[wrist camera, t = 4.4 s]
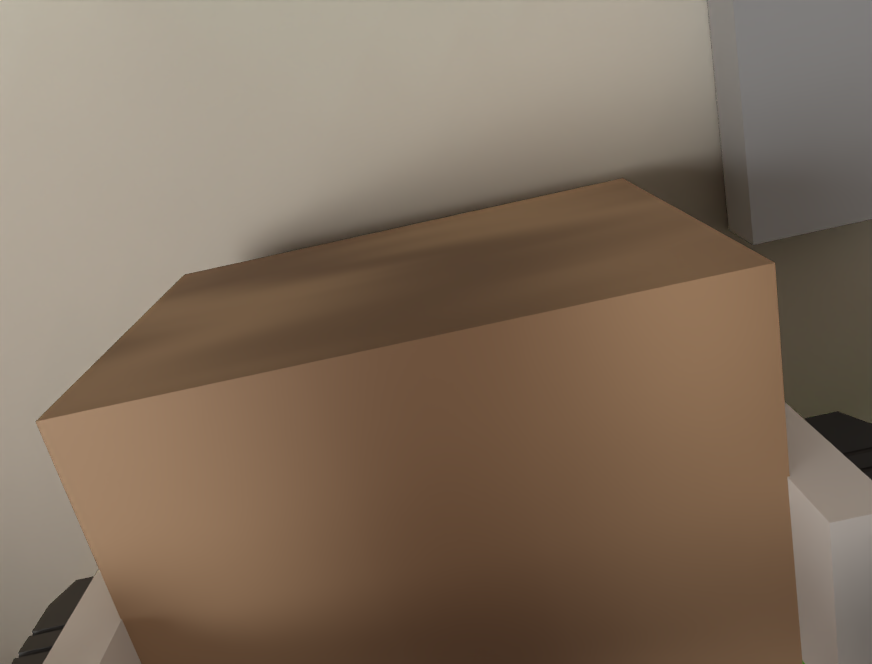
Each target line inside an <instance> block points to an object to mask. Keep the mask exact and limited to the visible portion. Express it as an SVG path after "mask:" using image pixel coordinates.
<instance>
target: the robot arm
mask: <svg viewBox="0 0 872 664" xmlns="http://www.w3.org/2000/svg"><path fill="white" fill-rule="evenodd" d="M785 415H786V429H787V444H788V458H789V473H790V476H788V477H787V479H788V491H789V503H790V515H791V528H792V540H793V552H794V564H795V577H796V589H797V601H798V613H799V626H800V638H801V650H802V660H803V662H804V663H805V664H872V424H870V423H867V422H865V421H862V420H859V419H857V418H854V417H851V416H849V415H846V414H843V413H840V412H833V413H828V414H824V415H819V416H815V417H810V418H805V419H803V418H802V417H801V416H800V415H799V414H798V413H797V412H796V411H794V410H793V409H792V408H791V407H790V406H789V405H788V404H787V403H786V402H785ZM32 633H33V636H29V637H28V639H27V640H26V642H25V643H24V645H23V647H22V648H21V650H20V651H19V653H18V654H19V658H15V659H14V661H13V662H12V664H141V661H140V659H139V657H138V655H137V652H136V650H135V648H134V646H133V643H132V641H131V639H130V637H129V634H128V632H127V630H126V628H125V625H124V623H123V621H122V619H120V616H119V614H118V612H117V609H116V607H115V605H114V602H113V600H112V598H111V595H110V593H109V591H108V588H107V586H106V584H105V581H104V579H103V577H102V575H101V572H100V570H99V569H98V571H97V572H96V574H95V576H94V577H89V578H85V579H80V580H76V581H75V582H74V583H73V584H72V585H71V586H69V587H68V588H67V589H66V590H65V591H64V592H63V593H62V594H61V595H60V596H59V597H58V598H56V599H55V600H54V601H53V602H52V603H51V604H50V605H49V606H48V608H47V609H46V611H45V612H44V614H43V615H42V617H41V618H40V620H39V622H38V623H37V625H36V626H35V628H34V629H33V631H32Z"/></svg>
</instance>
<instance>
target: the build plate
mask: <svg viewBox="0 0 872 664" xmlns="http://www.w3.org/2000/svg"><path fill="white" fill-rule="evenodd" d="M707 4H708V15H709V25H710V36H711V46H712V57H713V67H714V78H715V88H716V99H717V110H718V120H719V131H720V141H721V152H722V162H723V173H724V183H725V194H726V204H727V215H728V225H729V230H730V231H731V232H733V233H735V234H736V235H738V236H739V237H741V238H743V239H744V240H746V241H748V242H749V243H751V244H753V245H756V244H760V243H765V242H770V241H774V240H779V239H783V238H788V237H793V236H797V235H802V234H806V233H811V232H815V231H820V230H825V229H829V228H834V227H838V226H843V225H848V224H852V223H857V222H861V221H866V220H870V219H872V0H707Z"/></svg>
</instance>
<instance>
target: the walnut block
mask: <svg viewBox="0 0 872 664" xmlns="http://www.w3.org/2000/svg"><path fill="white" fill-rule="evenodd" d="M36 424H37V426H38V428H39V431H40V433H41V435H42V438H43V440H44V442H45V445H46V447H47V449H48V452H49V454H50V456H51V459H52V461H53V463H54V466H55V468H56V470H57V472H58V475H59V477H60V479H61V482H62V484H63V486H64V489H65V491H66V493H67V496H68V498H69V500H70V503H71V505H72V507H73V510H74V512H75V514H76V517H77V519H78V521H79V524H80V526H81V528H82V530H83V533H84V535H85V537H86V540H87V542H88V544H89V547H90V549H91V551H92V554H93V556H94V558H95V561H96V563H97V565H98V568H99V570H100V572H101V575H102V577H103V579H104V581H105V584H106V586H107V588H108V591H109V593H110V595H111V598H112V600H113V602H114V605H115V607H116V609H117V612H118V614H119V616H120V619H122V621H123V623H124V625H125V628H126V630H127V632H128V634H129V637H130V639H131V641H132V643H133V646H134V648H135V650H136V652H137V655H138V657H139V659H140V661H141V664H803V662H802V650H801V638H800V626H799V613H798V601H797V589H796V577H795V564H794V552H793V540H792V528H791V515H790V503H789V491H788V479H787V477H788V476H790V473H789V458H788V444H787V429H786V415H785V400H784V386H783V371H782V357H781V342H780V327H779V313H778V298H777V284H776V269H775V262H773V261H771V260H769V259H767V258H766V257H764V256H762V255H760V254H758V253H757V252H755V251H753V250H751V249H749V248H748V247H746V246H744V245H742V244H740V243H739V242H737V241H735V240H733V239H731V238H730V237H728V236H726V235H724V234H722V233H721V232H719V231H717V230H715V229H713V228H712V227H710V226H708V225H706V224H704V223H703V222H701V221H699V220H697V219H695V218H694V217H692V216H690V215H688V214H686V213H685V212H683V211H681V210H679V209H677V208H676V207H674V206H672V205H670V204H668V203H667V202H665V201H663V200H661V199H659V198H658V197H656V196H654V195H652V194H650V193H649V192H647V191H645V190H643V189H641V188H639V187H638V186H636V185H634V184H632V183H630V182H629V181H627V180H625V179H623V178H621V179H617V180H612V181H608V182H603V183H599V184H594V185H590V186H585V187H580V188H576V189H571V190H567V191H562V192H558V193H553V194H549V195H544V196H540V197H535V198H531V199H526V200H521V201H517V202H512V203H508V204H503V205H499V206H494V207H490V208H485V209H481V210H476V211H471V212H467V213H462V214H458V215H453V216H449V217H444V218H440V219H435V220H431V221H426V222H421V223H417V224H412V225H408V226H403V227H399V228H394V229H390V230H385V231H381V232H376V233H372V234H367V235H362V236H358V237H353V238H349V239H344V240H340V241H335V242H331V243H326V244H322V245H317V246H312V247H308V248H303V249H299V250H294V251H290V252H285V253H281V254H276V255H272V256H267V257H263V258H258V259H253V260H249V261H244V262H240V263H235V264H231V265H226V266H222V267H217V268H213V269H208V270H203V271H199V272H194V273H190V274H185V275H184V276H183V277H181V278H180V279H179V280H178V281H177V282H176V283H175V284H174V285H173V286H172V287H171V288H170V289H169V290H168V291H167V292H166V293H165V294H164V295H163V296H162V297H161V298H160V299H159V300H158V301H157V302H156V303H155V304H154V305H153V306H152V307H151V308H150V309H149V310H148V311H147V312H146V313H145V314H144V315H143V316H142V317H141V318H140V319H139V320H138V321H137V322H136V323H135V324H134V325H133V326H132V327H131V328H130V329H129V330H128V331H127V332H126V333H125V334H124V335H123V336H122V337H121V338H120V339H119V340H118V341H117V342H116V343H115V344H114V345H113V346H112V347H111V348H110V349H109V350H108V351H107V352H106V353H105V354H104V355H103V356H101V357H100V358H99V359H98V360H97V361H96V362H95V363H94V364H93V365H92V366H91V367H90V368H89V369H88V370H87V371H86V372H85V373H84V374H83V375H82V376H81V377H80V378H79V379H78V380H77V381H76V382H75V383H74V384H73V385H72V386H71V387H70V388H69V389H68V390H67V391H66V392H65V393H64V394H63V395H62V396H61V397H60V398H59V399H58V400H57V401H56V402H55V403H54V404H53V405H52V406H51V407H50V408H49V409H48V410H47V411H46V412H45V413H44V414H43V415H42V416H41V417H40V418H39V419H38V420H37V421H36Z"/></svg>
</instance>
